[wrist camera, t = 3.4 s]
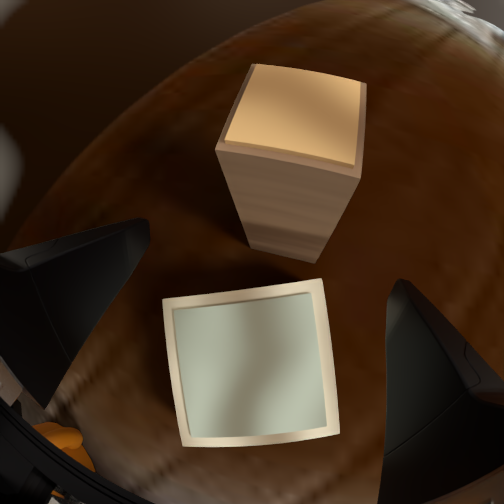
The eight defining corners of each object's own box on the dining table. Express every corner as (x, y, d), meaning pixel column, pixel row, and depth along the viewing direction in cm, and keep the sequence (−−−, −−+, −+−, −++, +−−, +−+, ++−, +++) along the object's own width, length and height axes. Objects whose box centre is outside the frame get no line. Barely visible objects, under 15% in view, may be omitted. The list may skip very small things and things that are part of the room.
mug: (131, 474, 18) (77, 517, 9) (72, 498, 17) (24, 525, 8) (74, 395, 20) (5, 410, 11) (27, 434, 19) (-27, 447, 10)
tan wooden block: (314, 263, 21) (362, 174, 8) (250, 248, 22) (213, 145, 9) (326, 204, 22) (367, 79, 9) (266, 190, 23) (251, 59, 10)
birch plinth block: (198, 427, 19) (181, 447, 15) (182, 304, 21) (161, 298, 17) (329, 415, 18) (340, 434, 14) (313, 287, 21) (322, 277, 17)
